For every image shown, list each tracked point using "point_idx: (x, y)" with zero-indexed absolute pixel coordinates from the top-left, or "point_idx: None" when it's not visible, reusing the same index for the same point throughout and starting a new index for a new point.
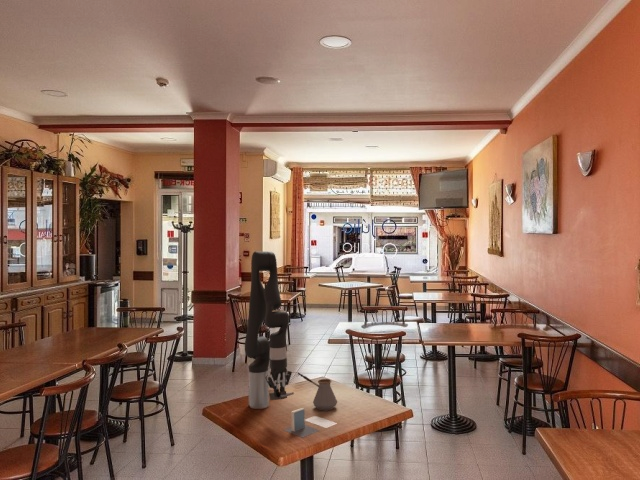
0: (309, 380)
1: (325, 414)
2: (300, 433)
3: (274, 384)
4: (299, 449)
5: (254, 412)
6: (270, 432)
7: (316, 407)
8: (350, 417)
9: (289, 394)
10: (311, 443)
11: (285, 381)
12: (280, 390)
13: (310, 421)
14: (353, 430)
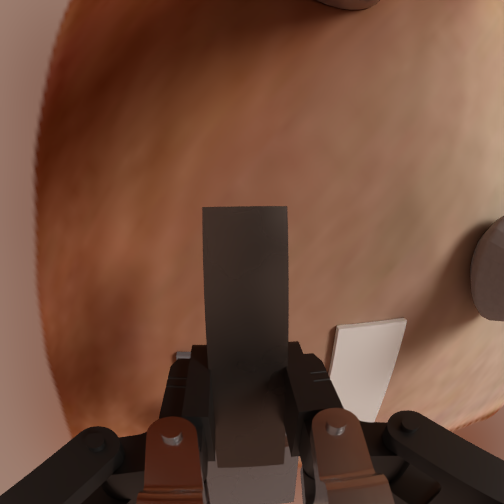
0: None
1: (442, 320)
2: None
3: (168, 482)
4: None
5: (249, 5)
6: (123, 318)
7: (475, 254)
8: (442, 389)
9: (241, 501)
10: None
11: (427, 442)
12: (286, 390)
13: (341, 361)
14: None
